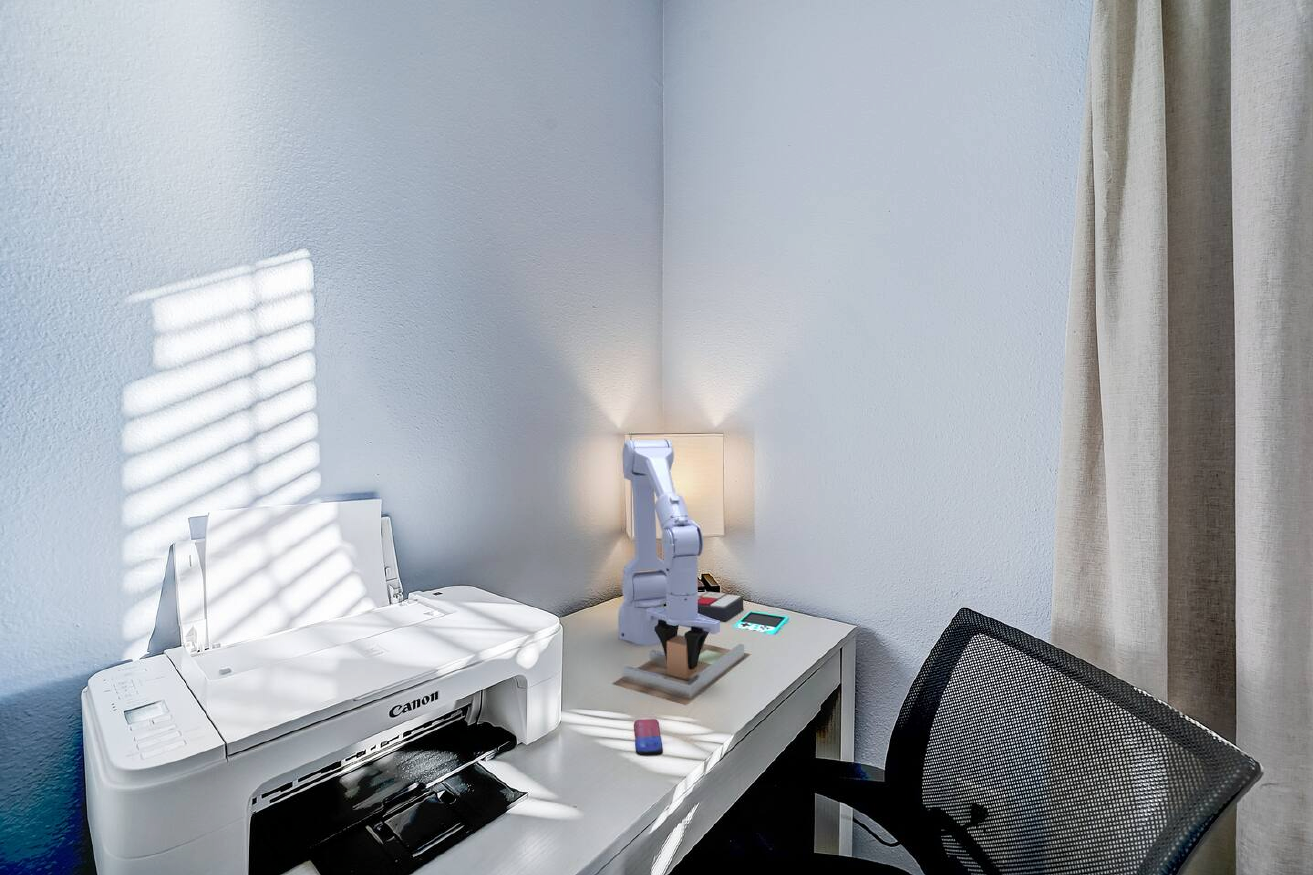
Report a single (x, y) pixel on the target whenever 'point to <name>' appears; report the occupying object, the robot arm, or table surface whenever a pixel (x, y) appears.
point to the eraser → (647, 737)
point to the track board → (705, 660)
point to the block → (678, 657)
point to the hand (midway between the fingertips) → (681, 664)
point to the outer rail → (679, 686)
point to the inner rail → (659, 658)
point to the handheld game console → (762, 622)
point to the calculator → (719, 605)
